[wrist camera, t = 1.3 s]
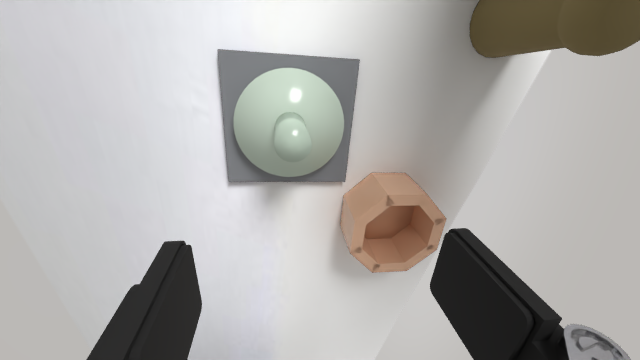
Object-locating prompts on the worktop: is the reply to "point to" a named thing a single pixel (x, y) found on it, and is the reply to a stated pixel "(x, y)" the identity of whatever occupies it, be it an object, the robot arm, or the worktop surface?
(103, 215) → the worktop surface
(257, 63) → the mat
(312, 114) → the lid
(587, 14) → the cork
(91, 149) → the worktop surface
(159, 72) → the worktop surface
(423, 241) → the bowl
